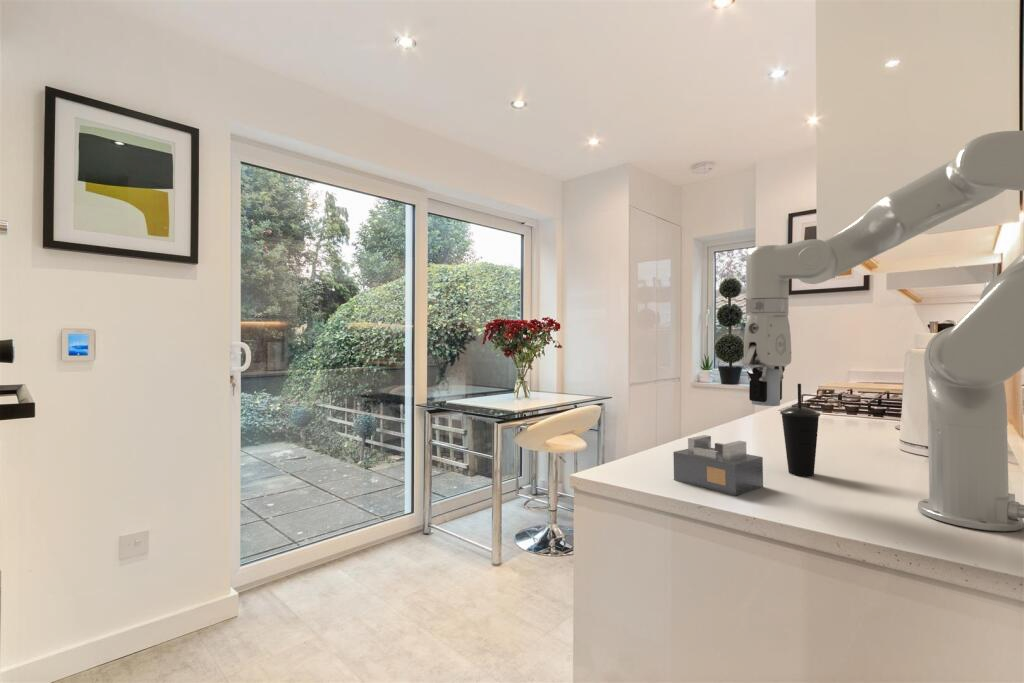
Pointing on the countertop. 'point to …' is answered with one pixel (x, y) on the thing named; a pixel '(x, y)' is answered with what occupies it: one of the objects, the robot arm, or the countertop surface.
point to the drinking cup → (800, 438)
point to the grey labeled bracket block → (718, 466)
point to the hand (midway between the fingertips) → (765, 399)
